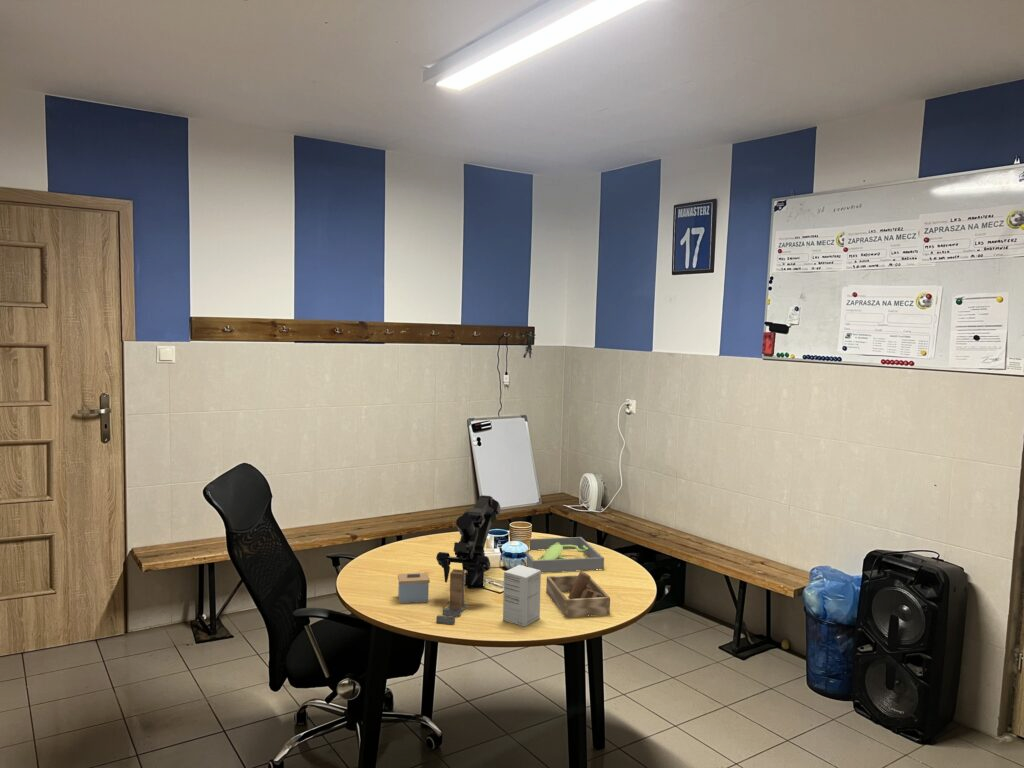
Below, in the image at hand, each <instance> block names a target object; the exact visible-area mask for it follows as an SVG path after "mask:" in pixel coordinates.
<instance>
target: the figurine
mask: <svg viewBox="0 0 1024 768" xmlns="http://www.w3.org/2000/svg"><path fill="white" fill-rule="evenodd" d="M567 547H570V548H576V551H577V552H579V553H583V552H585V551H588V548H587V547H585V545H584V546H583V548H584V549H585V550H581V549H579V548H578V546H576V545H560V543H558V542H557V543H555V544H554V545H551V546H549V547H548V550H545V553H544V554H542V555H540V556H539V557H538V558H537V560H554V559H568V558H567V557H564V556H561V554H562V552H563V550H564V549H563V548H567ZM531 557H532V558H533V559H534V557H533V556H532V555H531Z"/></svg>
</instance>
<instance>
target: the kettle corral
mask: <svg viewBox="0 0 1024 768" xmlns="http://www.w3.org/2000/svg"><path fill="white" fill-rule="evenodd" d="M529 539H530V551H529V552H532V551H531V550H537V551H539V550H538V549H548V547H549V546H551V545H554V544H555V543H557V542H558V543H560V545H576V546H578V548H579V549H581V550H585V549H584V548H583V546H584V545H585V547H587V548H588V551H585V552H582V553H583V554H584V555H585V556H586V555H587V556H588V557H589V558H588V557H587V556H586V557H581V558H575V557H574V558H567V559H559V558H557V559H554V560H543V559H541V560H538V559H537V560H536V559H534V557H533V556H532V555H531V554H530V553H529V552H528V554H527V566H528V567H530V568H534V569H538V570H541V574H543V573H542V572H553V573H563V572H562V571H573V572H577V571H576V570H594V571H600V570H599V569H604V568H605V557H604V556H603V555H601V553H599V552H598V551H597V550H596V549H595V548H594V547H593V546H592V545H591V544H590V543H588V541H586V540H585V539H584V538H583V537H582V536H575V537H571V536H570V537H549V538H548V537H546V538H529ZM575 549H576V548H570V547H567V548H563V550H575ZM576 550H577V549H576ZM531 556H532V557H533V558H532V557H531ZM527 566H526V567H527ZM596 569H598V570H596Z"/></svg>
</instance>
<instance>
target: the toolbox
mask: <svg viewBox="0 0 1024 768" xmlns="http://www.w3.org/2000/svg"><path fill="white" fill-rule="evenodd" d="M397 579H398V588H397V589H398V594H397V595H398V596H399V597H398V596H397V597H398V600H399V601H400V602H399V604H411V603H410V602H413V603H425V602H429V586H430V581H431V580H430V577H429V575H428V572H415V573H412V572H411V573H398V574H397Z"/></svg>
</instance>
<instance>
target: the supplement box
mask: <svg viewBox="0 0 1024 768" xmlns="http://www.w3.org/2000/svg"><path fill="white" fill-rule="evenodd" d="M541 580H542V573H541V570H538V569H534V568H530V567H527V566H526V565H522V564H518V565H515V566H514V567H511V568H510V569H507V570H506V571H504V572H503V593H502V594H503V601H502V606H503V607H502V620H503V621H504V620H505V622H509V623H511V624H514V623H515V625H517V624H518V626H520V627H521V626H522V627H524V626H526V627H528V626H529V625H531V624H533V623H534V622H536V621H537V620H538V619H540V616H541V614H540V613H541V588H542V587H541V584H542V581H541Z"/></svg>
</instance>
